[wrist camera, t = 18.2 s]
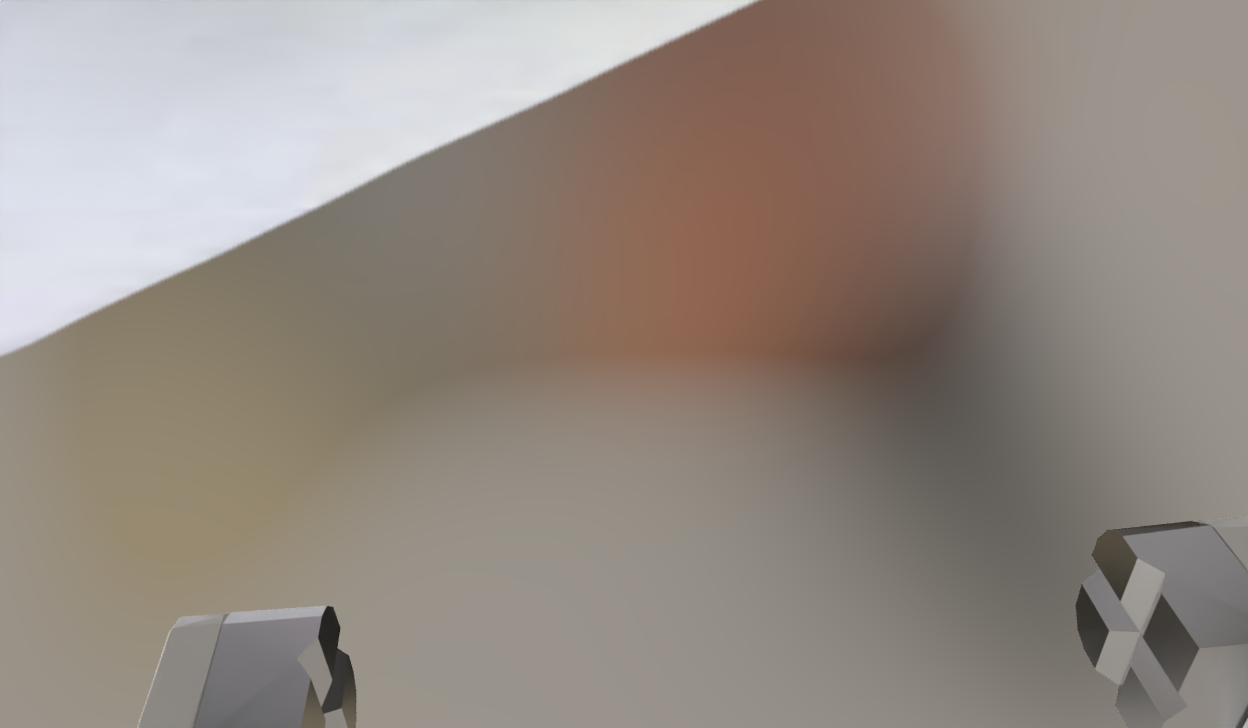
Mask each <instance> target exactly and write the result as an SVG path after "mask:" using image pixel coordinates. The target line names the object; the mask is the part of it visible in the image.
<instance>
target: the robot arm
mask: <svg viewBox="0 0 1248 728" xmlns="http://www.w3.org/2000/svg"><path fill="white" fill-rule="evenodd" d="M1092 557H1093V558H1094V560H1095V562H1096V563H1097V565H1098V567H1099V568H1100V569H1098V570H1097V571H1096V572H1095V573H1094V574H1092V575H1091V576H1090V577H1089V578H1088V579H1087V580H1086V581H1084V582H1083V583H1082V584H1081V587H1080V591H1079V595H1078V598H1077V602H1076V617H1077V630H1078V633H1079V636H1080V638H1081V642H1082V645H1083V648H1084V650H1085V652H1086V654H1087V656H1088V657H1089V659H1090V661H1091V663H1092V665H1093V667H1094V668H1095V670H1097V671H1098V672H1100V673H1101V674H1103V675H1104V676H1106V677H1107V678H1109V679H1110V680H1112V681H1113V682H1115V683H1116V684H1117V685H1119V688H1118V693H1117V699H1116V703H1115V706H1116V708H1117V709H1118V711H1119V713H1120V715H1121V716H1122V718H1123V720H1124V721H1125V723H1126V725H1127V727H1128V728H1248V517H1247V516H1243V517H1232V518H1222V519H1212V520H1201V521H1197V522H1194V521H1186V522H1177V523H1167V524H1159V525H1150V526H1140V527H1131V528H1121V529H1112V530H1106V531H1105V532H1104V533H1103V534H1102V535H1101V536H1100V537H1099V538H1098V539H1097V541H1096V544H1095V547H1094V550H1093V552H1092ZM339 635H340V625H339V622H338V619H337V616H336V613H335V611H334V608H333V607H331V606H317V607H303V608H288V609H274V610H260V611H246V612H231V613H225V614H212V615H199V616H187V617H180V618H179V619H178V620H177V622H176V623H175V624H174V626H173V627H172V628H171V630H170V631H169V633H168V636H167V639H166V642H165V645H164V648H163V651H162V654H161V657H160V660H159V663H158V666H157V669H156V672H155V675H154V678H153V681H152V684H151V687H150V690H149V693H148V696H147V699H146V702H145V705H144V708H143V711H142V714H141V717H140V720H139V723H138V726H137V728H356V685H355V678H354V671H353V668H352V664H351V661H350V658H349V655H347V654H346V653H344V652H342V651H341V650H340V649H338V641H339Z"/></svg>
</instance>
